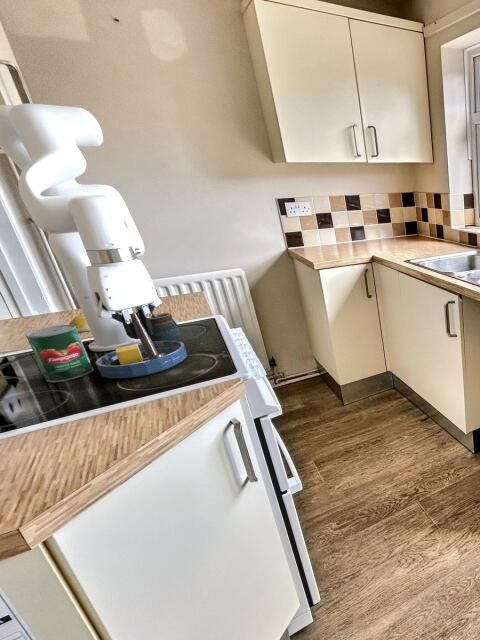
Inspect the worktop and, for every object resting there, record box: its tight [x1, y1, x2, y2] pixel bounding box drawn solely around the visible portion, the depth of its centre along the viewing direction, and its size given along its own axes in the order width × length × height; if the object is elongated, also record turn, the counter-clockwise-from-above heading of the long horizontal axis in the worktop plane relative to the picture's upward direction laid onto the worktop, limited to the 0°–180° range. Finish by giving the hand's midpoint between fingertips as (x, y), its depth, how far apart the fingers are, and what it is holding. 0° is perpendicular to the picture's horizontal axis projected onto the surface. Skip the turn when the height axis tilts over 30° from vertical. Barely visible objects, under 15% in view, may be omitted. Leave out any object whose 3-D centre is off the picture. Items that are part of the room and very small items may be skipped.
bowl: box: [95, 340, 188, 379], centre depth 101 cm, size 16×16×4 cm
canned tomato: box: [25, 324, 94, 383], centre depth 96 cm, size 8×8×11 cm
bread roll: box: [68, 314, 91, 333], centre depth 130 cm, size 8×9×4 cm
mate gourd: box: [149, 311, 182, 342], centre depth 114 cm, size 7×8×10 cm
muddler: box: [130, 311, 166, 362], centre depth 97 cm, size 4×4×12 cm
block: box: [115, 344, 143, 365], centre depth 101 cm, size 4×4×4 cm
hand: (141, 336), depth 97 cm, fingers closed on muddler
